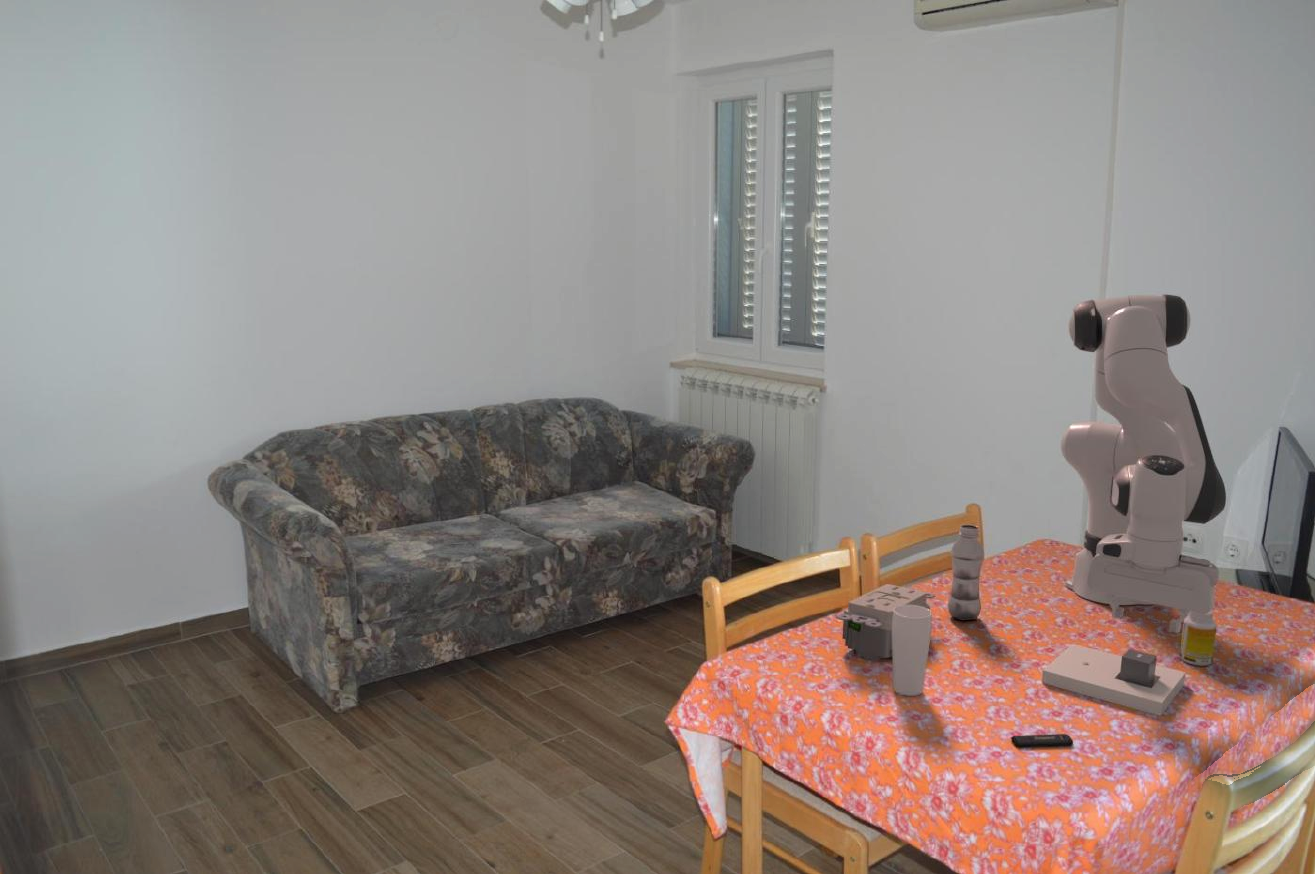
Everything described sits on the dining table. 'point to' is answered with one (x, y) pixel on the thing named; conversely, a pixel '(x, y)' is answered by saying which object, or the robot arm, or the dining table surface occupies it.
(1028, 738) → the usb stick
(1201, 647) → the supplement bottle
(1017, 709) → the dining table surface
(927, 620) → the drinking glass
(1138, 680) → the block
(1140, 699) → the outlet plate
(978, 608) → the plastic bottle
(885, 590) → the electrical outlet
